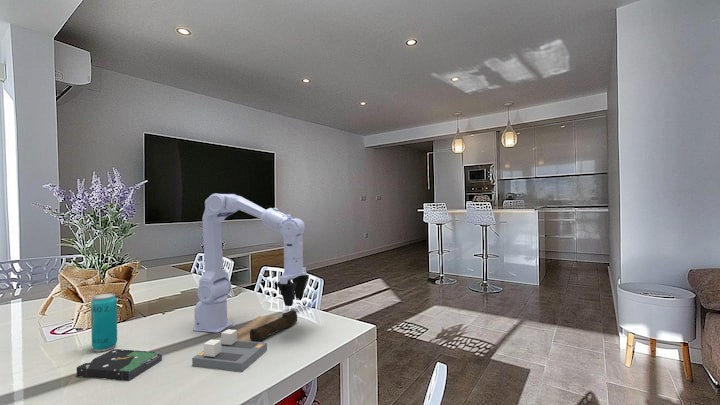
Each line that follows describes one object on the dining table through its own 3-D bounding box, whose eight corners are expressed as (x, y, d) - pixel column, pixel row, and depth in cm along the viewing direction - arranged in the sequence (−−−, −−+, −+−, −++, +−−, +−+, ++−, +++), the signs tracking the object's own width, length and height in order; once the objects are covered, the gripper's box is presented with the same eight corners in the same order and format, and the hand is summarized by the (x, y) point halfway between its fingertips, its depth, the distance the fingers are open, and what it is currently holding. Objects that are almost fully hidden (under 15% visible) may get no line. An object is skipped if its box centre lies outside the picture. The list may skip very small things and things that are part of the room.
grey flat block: (192, 365, 84) (192, 357, 84) (222, 345, 95) (222, 338, 95) (241, 371, 80) (241, 363, 80) (267, 350, 92) (266, 342, 92)
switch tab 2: (221, 344, 91) (221, 333, 91) (227, 339, 94) (227, 329, 94) (231, 345, 90) (231, 334, 90) (237, 340, 93) (237, 330, 93)
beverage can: (95, 346, 96) (94, 294, 96) (119, 342, 98) (118, 292, 98) (88, 354, 91) (87, 299, 91) (114, 350, 93) (113, 297, 93)
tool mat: (217, 346, 97) (217, 343, 97) (259, 319, 119) (259, 316, 119) (244, 349, 95) (244, 345, 95) (282, 320, 117) (282, 318, 117)
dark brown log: (258, 344, 96) (258, 328, 96) (248, 341, 98) (248, 325, 98) (303, 324, 112) (303, 310, 112) (294, 321, 114) (294, 308, 114)
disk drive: (75, 379, 79) (130, 383, 77) (74, 367, 79) (129, 371, 77) (113, 358, 90) (163, 361, 87) (113, 348, 90) (162, 350, 87)
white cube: (203, 355, 84) (203, 343, 84) (211, 350, 87) (211, 339, 87) (214, 356, 83) (214, 344, 83) (221, 351, 86) (221, 340, 86)
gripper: (295, 262, 94) (296, 310, 95) (314, 254, 109) (314, 295, 109) (272, 261, 96) (273, 308, 96) (294, 253, 110) (294, 294, 110)
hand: (294, 301), depth 103 cm, fingers open, 7 cm apart
